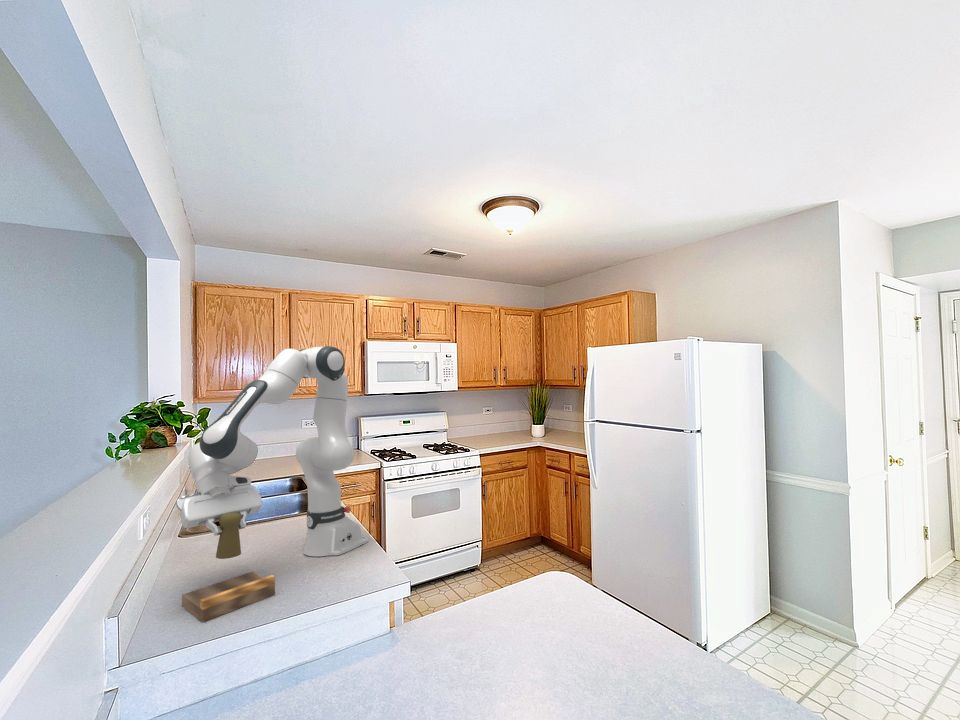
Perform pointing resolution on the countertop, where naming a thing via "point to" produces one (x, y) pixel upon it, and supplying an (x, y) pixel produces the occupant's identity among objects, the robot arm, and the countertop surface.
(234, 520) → the cork
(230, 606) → the dock
